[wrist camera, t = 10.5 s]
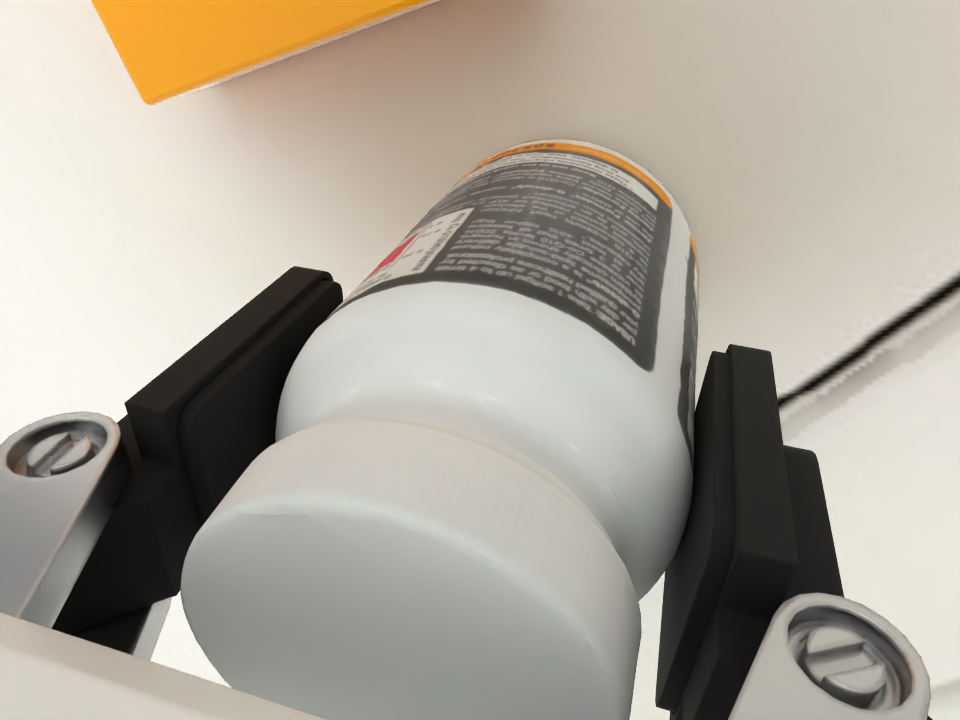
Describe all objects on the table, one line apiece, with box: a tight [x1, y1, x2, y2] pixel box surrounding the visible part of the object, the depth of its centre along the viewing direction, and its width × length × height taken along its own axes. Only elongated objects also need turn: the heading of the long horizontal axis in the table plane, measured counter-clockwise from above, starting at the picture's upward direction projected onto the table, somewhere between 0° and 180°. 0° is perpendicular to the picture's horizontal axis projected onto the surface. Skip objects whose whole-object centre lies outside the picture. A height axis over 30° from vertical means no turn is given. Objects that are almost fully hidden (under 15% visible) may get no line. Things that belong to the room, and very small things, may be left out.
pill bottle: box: [181, 139, 699, 720], centre depth 11 cm, size 6×6×10 cm
